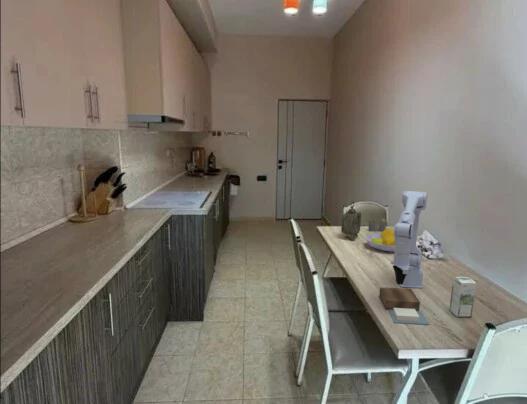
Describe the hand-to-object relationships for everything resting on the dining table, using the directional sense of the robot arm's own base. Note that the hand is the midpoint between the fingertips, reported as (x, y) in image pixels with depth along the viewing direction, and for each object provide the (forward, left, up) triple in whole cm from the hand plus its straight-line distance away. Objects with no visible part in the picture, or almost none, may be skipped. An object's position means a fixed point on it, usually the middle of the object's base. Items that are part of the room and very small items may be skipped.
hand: (399, 283), depth 143 cm
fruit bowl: (-12, -73, -10) cm, 75 cm away
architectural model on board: (-12, -113, -10) cm, 114 cm away
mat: (-1, +10, -9) cm, 14 cm away
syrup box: (-22, +5, -9) cm, 25 cm away
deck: (0, -1, -9) cm, 9 cm away
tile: (0, +11, -7) cm, 13 cm away
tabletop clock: (+9, -92, -9) cm, 93 cm away
